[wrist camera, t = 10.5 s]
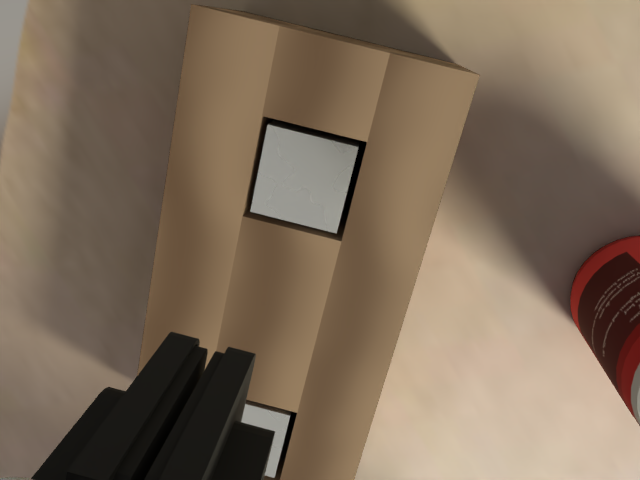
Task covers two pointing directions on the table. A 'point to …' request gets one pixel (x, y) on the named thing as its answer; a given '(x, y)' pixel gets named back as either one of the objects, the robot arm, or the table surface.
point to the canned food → (612, 314)
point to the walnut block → (295, 239)
